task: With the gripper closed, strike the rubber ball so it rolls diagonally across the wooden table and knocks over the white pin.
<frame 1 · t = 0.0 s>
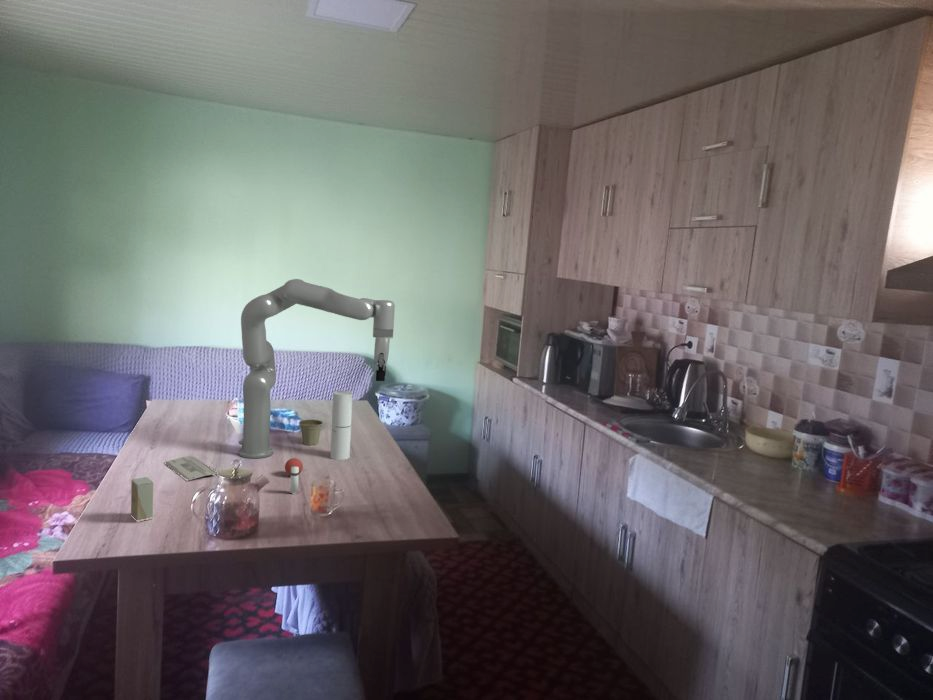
hand: (380, 378, 246), 31 cm above the table, tool pointing down, fingers open, 9 cm apart
white pin: (294, 493, 210), on the table
box: (142, 519, 183), on the table
newspaper: (193, 471, 225), on the table
ball: (293, 467, 225), on the table
cylindrical container: (340, 457, 249), on the table
flower pot: (310, 443, 264), on the table
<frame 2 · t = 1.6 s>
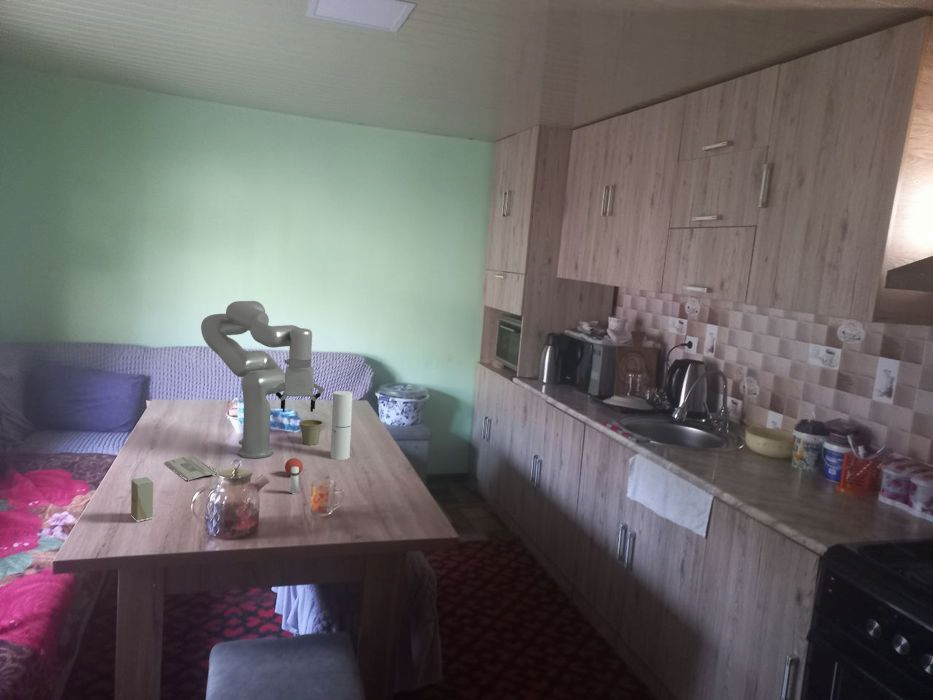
hand: (297, 410, 233), 20 cm above the table, tool pointing down, fingers open, 9 cm apart
nothing on the table moved.
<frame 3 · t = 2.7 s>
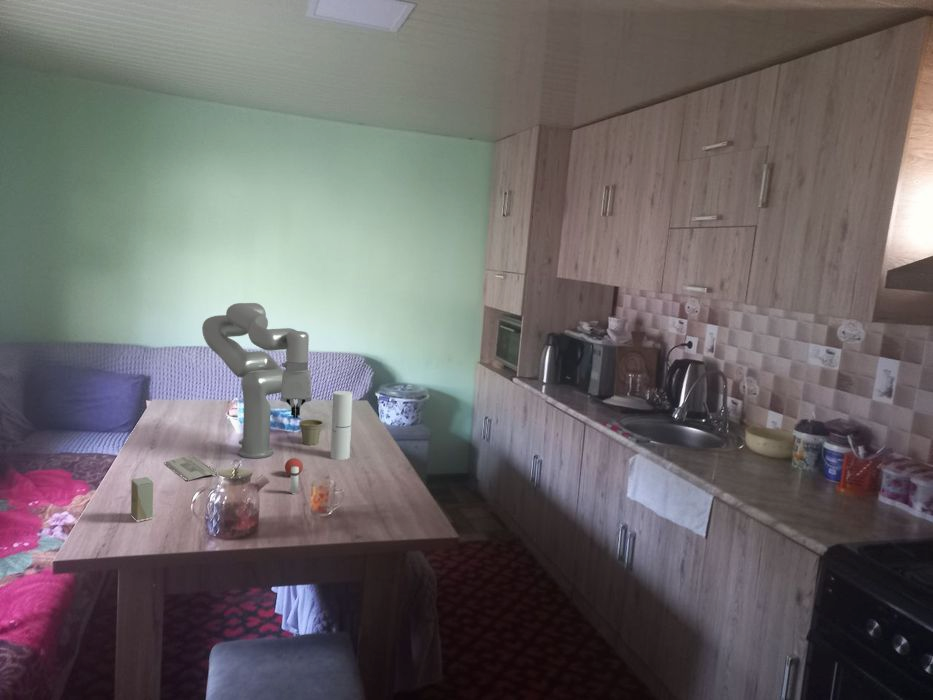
hand: (295, 417, 232), 18 cm above the table, tool pointing down, fingers closed
nothing on the table moved.
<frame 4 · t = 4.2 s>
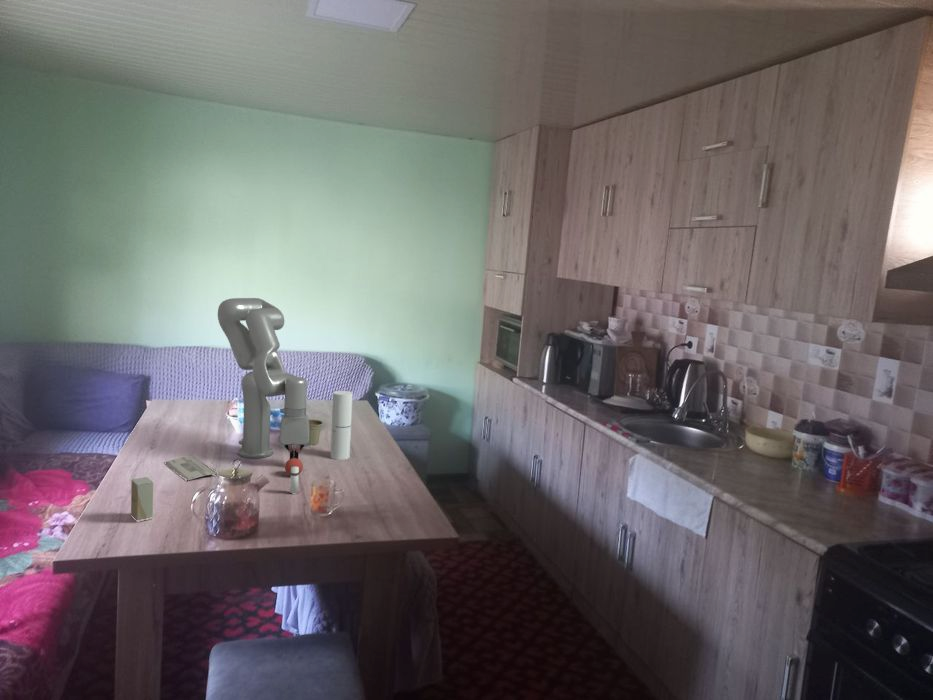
hand: (293, 462, 234), 2 cm above the table, tool pointing down, fingers closed
nothing on the table moved.
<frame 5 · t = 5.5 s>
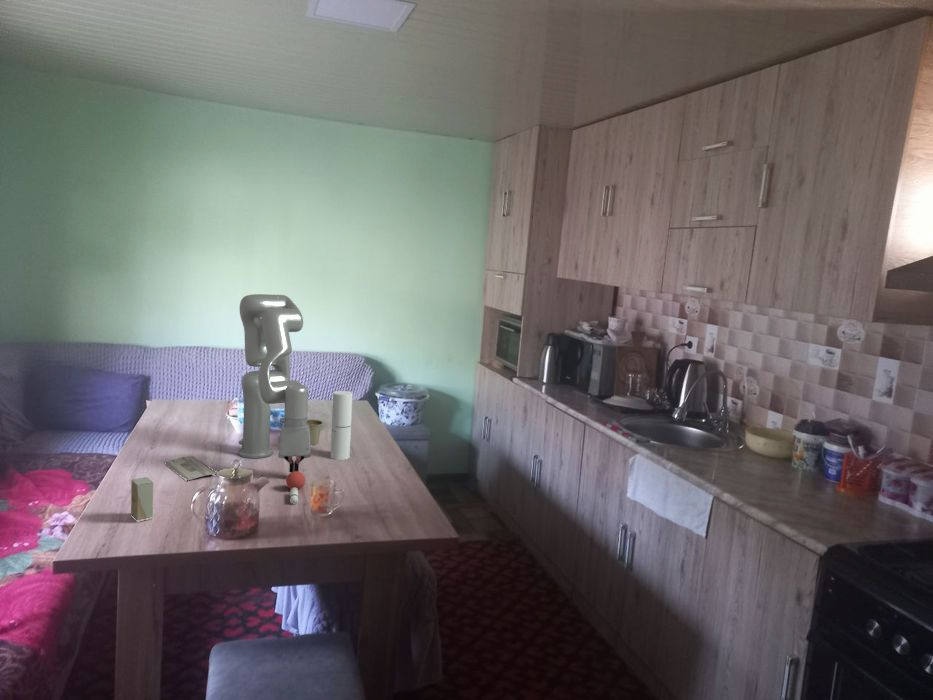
hand: (293, 474, 223), 2 cm above the table, tool pointing down, fingers closed
white pin: (294, 491, 208), point 1 cm above the table, tilted 90°
ball: (295, 480, 212), on the table
everything else where it was.
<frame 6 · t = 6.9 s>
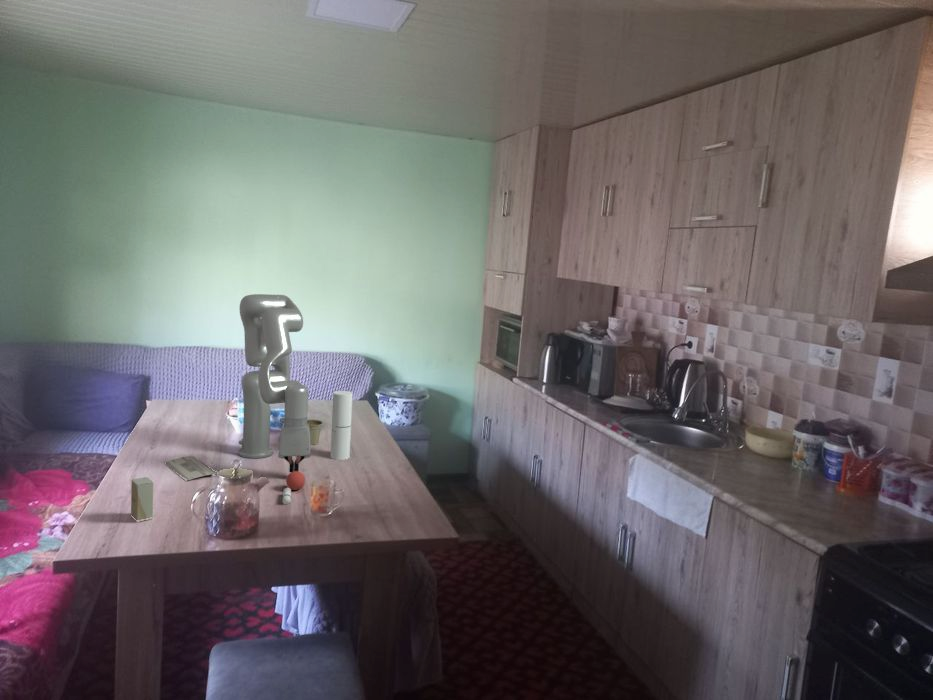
hand: (293, 474, 223), 2 cm above the table, tool pointing down, fingers closed
white pin: (287, 491, 208), point 1 cm above the table, tilted 90°
everything else where it was.
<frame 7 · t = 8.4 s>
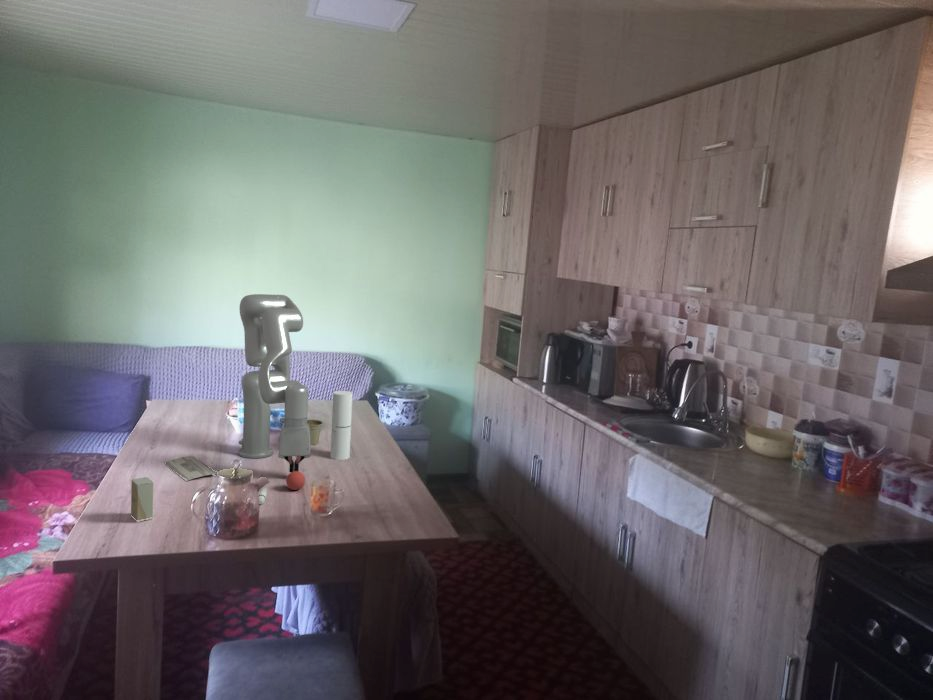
hand: (293, 474, 223), 2 cm above the table, tool pointing down, fingers closed
white pin: (263, 491, 206), point 1 cm above the table, tilted 90°
everything else where it was.
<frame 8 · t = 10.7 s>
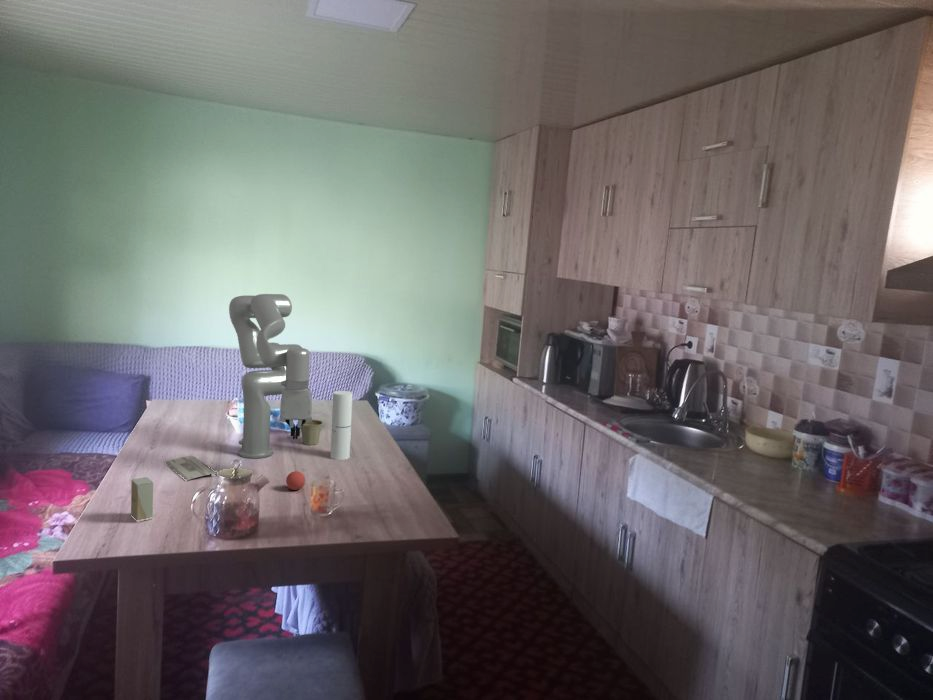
hand: (295, 438, 221), 14 cm above the table, tool pointing down, fingers closed
white pin: (236, 491, 205), point 1 cm above the table, tilted 90°
everything else where it was.
at the end: white pin tilted 90°; white pin never touched the robot; ball moved 13.7 cm from its start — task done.
